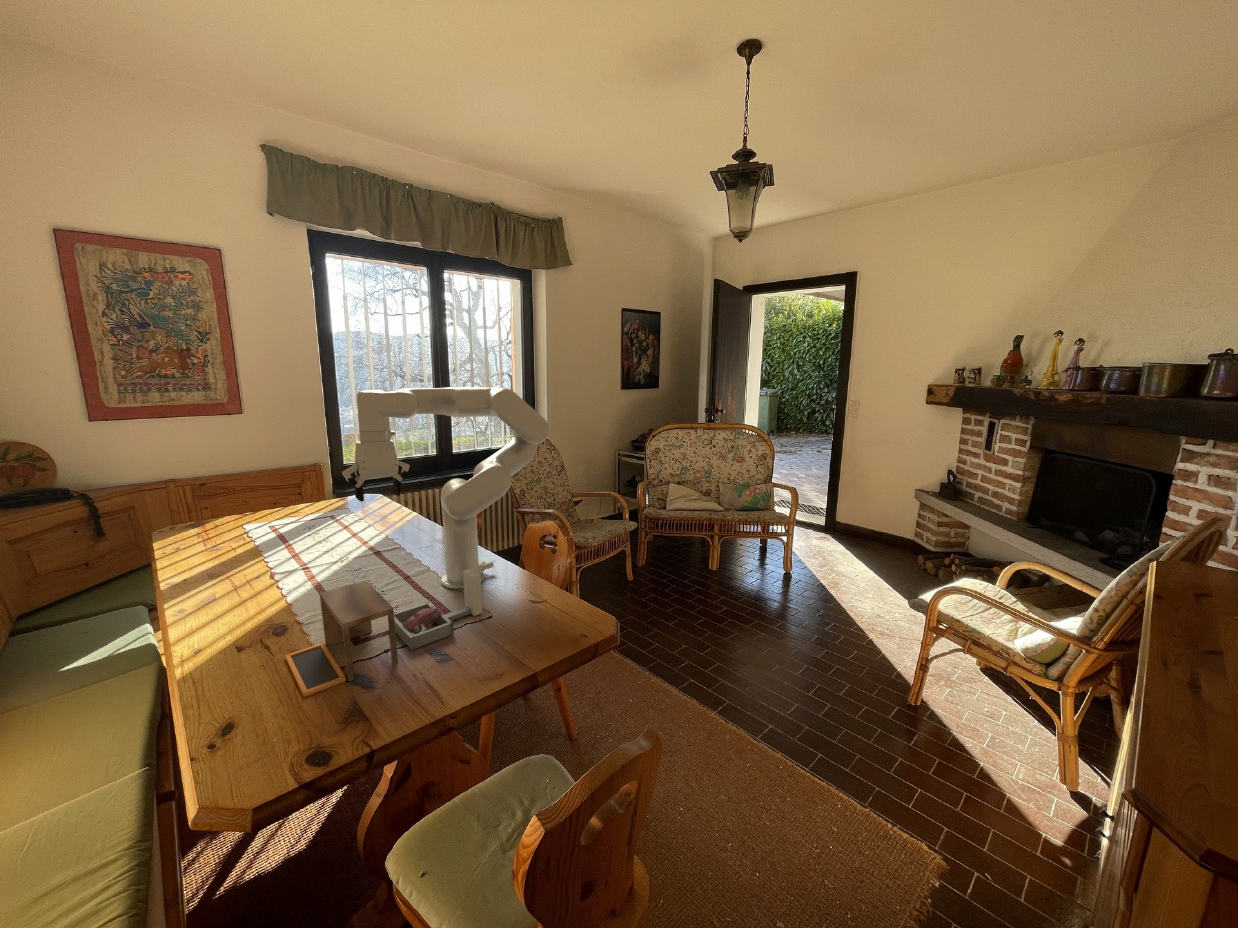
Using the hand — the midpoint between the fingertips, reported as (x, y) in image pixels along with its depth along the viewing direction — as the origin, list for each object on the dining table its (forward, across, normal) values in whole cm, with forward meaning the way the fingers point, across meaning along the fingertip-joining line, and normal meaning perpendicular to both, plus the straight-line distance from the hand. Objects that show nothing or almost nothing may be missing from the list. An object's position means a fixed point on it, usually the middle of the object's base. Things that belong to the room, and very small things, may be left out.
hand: (379, 497), depth 137 cm
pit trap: (+29, +25, +26) cm, 46 cm away
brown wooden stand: (+28, +16, +27) cm, 42 cm away
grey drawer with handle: (+28, -4, +27) cm, 39 cm away
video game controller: (+28, +1, +27) cm, 39 cm away
